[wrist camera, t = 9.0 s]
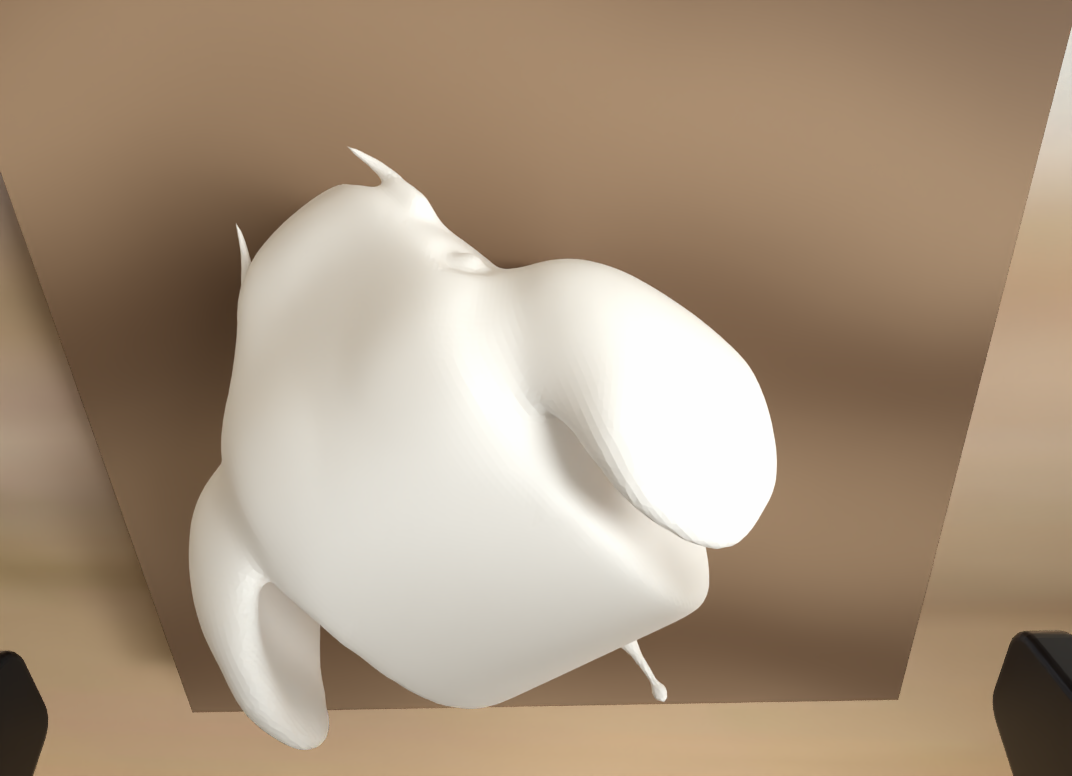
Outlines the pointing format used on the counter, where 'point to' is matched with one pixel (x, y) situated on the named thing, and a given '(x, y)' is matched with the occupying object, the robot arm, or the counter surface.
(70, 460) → the counter surface
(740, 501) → the elephant figurine
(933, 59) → the walnut board
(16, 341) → the counter surface
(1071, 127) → the counter surface
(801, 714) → the counter surface
